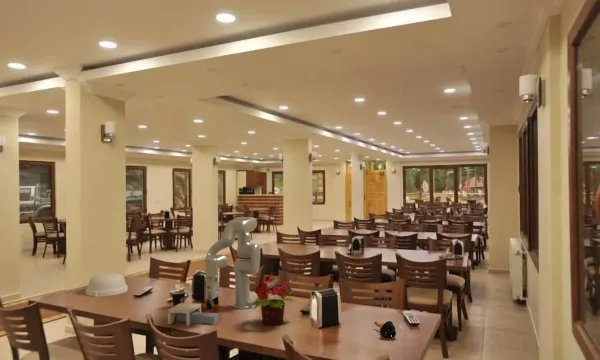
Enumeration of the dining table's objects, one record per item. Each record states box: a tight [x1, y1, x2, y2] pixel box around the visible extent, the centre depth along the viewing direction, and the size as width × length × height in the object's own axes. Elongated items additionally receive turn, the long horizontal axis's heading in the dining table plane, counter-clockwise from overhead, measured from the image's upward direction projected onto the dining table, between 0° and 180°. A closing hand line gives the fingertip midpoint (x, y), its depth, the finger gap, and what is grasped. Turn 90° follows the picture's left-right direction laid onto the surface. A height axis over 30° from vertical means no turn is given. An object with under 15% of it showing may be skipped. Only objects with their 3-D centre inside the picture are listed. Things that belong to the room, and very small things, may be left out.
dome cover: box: [85, 272, 129, 297], centre depth 338 cm, size 32×30×14 cm
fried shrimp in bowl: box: [373, 320, 397, 339], centre depth 237 cm, size 9×11×18 cm
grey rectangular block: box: [177, 311, 219, 325], centre depth 261 cm, size 24×6×4 cm, turn 77°
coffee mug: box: [171, 290, 189, 307], centre depth 292 cm, size 12×9×10 cm
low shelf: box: [167, 302, 202, 326], centre depth 263 cm, size 14×16×8 cm
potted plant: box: [252, 271, 297, 327], centre depth 256 cm, size 30×27×30 cm
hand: (212, 306), depth 260 cm, fingers open, 9 cm apart
